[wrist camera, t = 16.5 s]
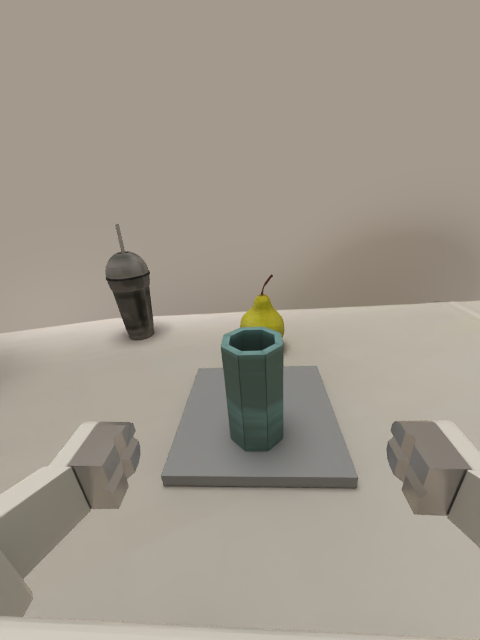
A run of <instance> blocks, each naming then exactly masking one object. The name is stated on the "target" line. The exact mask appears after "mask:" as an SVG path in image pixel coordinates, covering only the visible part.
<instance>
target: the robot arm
mask: <svg viewBox="0 0 480 640" xmlns="http://www.w3.org/2000/svg"><path fill="white" fill-rule="evenodd" d="M391 432H392V434H393V436H394V437H393V438H392V439H390V440H389V441H388V445H387V457H388V462H389V465H390V467H391V470H392V472H393V474H394V475H395V476H396V477H397V478H398V479H400V480H401V481H402V482H403V487H402V492H403V494H404V496H405V498H406V499H407V501H408V503H409V505H410V507H411V509H412V511H413V513H414V514H417V515H437V516H448V517H447V518H448V519H449V520H450V521H451V522H452V523H454V524H455V525H456V526H457V527H458V528H459V529H460V530H461V531H462V532H463V533H464V534H465V535H467V536H468V537H469V538H470V539H471V540H472V541H473V542H474V543H475V544H476V545H477V546H478V547H479V548H480V452H479V451H478V450H477V449H476V448H475V446H474V445H473V444H472V443H471V442H470V441H469V440H468V439H467V438H466V436H465V435H464V434H463V433H462V432H461V431H460V430H459V429H458V427H457V426H456V425H455V424H454V423H452V422H451V421H449V420H435V421H395V422H394V423H393V424H392V427H391ZM134 433H135V428H134V425H133V423H130V422H84V423H83V424H81V425H80V426H79V428H78V429H77V430H76V431H75V433H74V434H73V435H72V437H71V438H70V439H69V440H68V442H67V443H66V444H65V446H64V447H63V448H62V449H61V451H60V452H59V453H58V455H57V456H56V457H55V458H54V460H53V461H52V462H51V464H50V465H49V466H44V467H42V468H40V469H39V470H37V471H36V472H34V473H33V474H31V475H30V476H28V477H26V478H25V479H23V480H22V481H20V482H19V483H17V484H16V485H14V486H13V487H11V488H10V489H8V490H6V491H5V492H3V493H2V494H0V640H480V639H462V638H442V637H422V636H402V635H382V634H361V633H341V632H321V631H300V630H280V629H259V628H239V627H218V626H198V625H178V624H157V623H137V622H116V621H96V620H75V619H55V618H35V617H23V616H24V614H25V612H26V610H27V609H28V607H29V605H30V603H31V601H32V599H33V594H32V591H31V590H30V588H29V587H28V586H27V584H26V583H25V582H24V580H23V579H24V578H25V577H26V576H27V575H28V574H29V573H30V572H31V571H32V570H33V568H34V567H35V566H36V565H37V564H38V563H39V562H40V561H41V560H42V559H43V558H44V557H45V556H46V555H47V554H48V553H49V552H50V551H51V550H52V549H53V548H54V547H55V546H56V545H57V544H58V543H59V542H60V541H61V540H62V539H63V538H64V537H65V536H66V535H67V534H68V533H69V532H70V531H71V530H72V529H73V528H74V527H75V526H76V525H77V524H78V523H79V522H80V521H81V520H82V519H83V518H84V517H85V516H86V515H87V514H88V513H89V512H90V511H91V510H90V509H119V507H120V505H121V503H122V500H123V498H124V496H125V494H126V491H127V489H128V487H129V486H128V482H127V479H128V478H129V477H130V476H131V475H132V474H134V473H135V471H136V468H137V466H138V463H139V458H140V445H139V441H138V440H137V439H135V438H134V437H133V435H134Z"/></svg>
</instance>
